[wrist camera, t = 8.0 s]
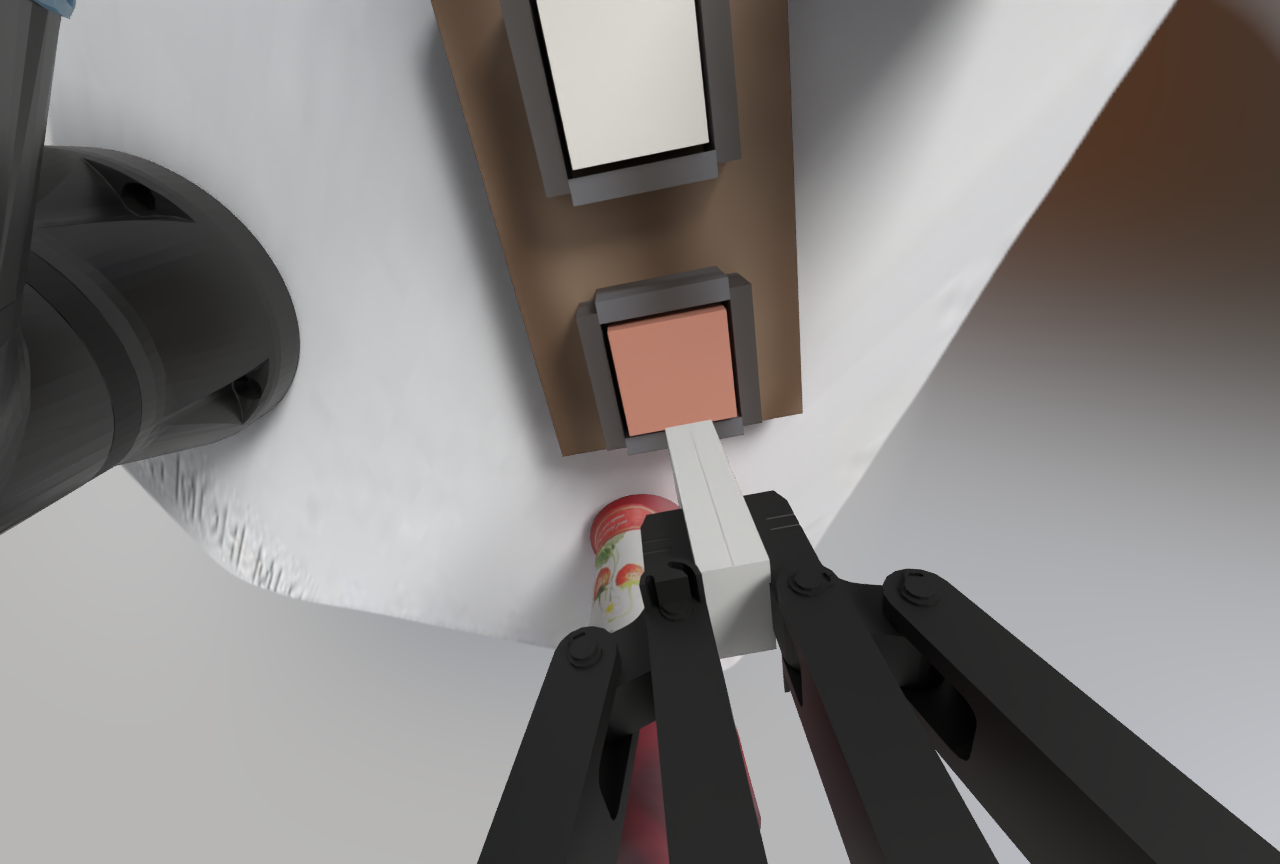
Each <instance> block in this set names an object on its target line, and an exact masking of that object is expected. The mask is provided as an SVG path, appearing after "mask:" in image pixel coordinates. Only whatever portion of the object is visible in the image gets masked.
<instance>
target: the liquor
mask: <svg viewBox="0 0 1280 864" xmlns="http://www.w3.org/2000/svg"><path fill="white" fill-rule="evenodd" d="M675 509H680V508H679V506H677V505H676V504H674V503H673V502H671V501H670V500H667V499H665V498H663V497H659V496H655V495H648V494H637V495H630V496H626V497H623V498H620V499H618V500H616V501H613V502H612V503H610V504H609V505H607V506H606V507H605V508H603V510H602V511H601V512H600V513H599V514H598V515H597V517H596V518H595V520H594V522H593V524H592V527H591V533H590V540H591V546H592V548H593V550H594V552H595V554H596V562H595V575H594V587H593V597H592V607H591V618H590V626H595V627H600V628H604V629H606V630H607V631H608V632H610V633H612V632H615V631H617V630H619V629H621V628H623V627H625V626H626V625H628V624H630V623H631V622H633V621H634V620H635V619H636V618H637V617H638V616H639V615H640V614H641V612H642V611H643V609H644V604H643V600H642V596H641V592H640V588H639V582H640V577H641V575H642V574H643V572H644V562H643V552H642V541H641V531H640V527H641V525H642V523H643V521H644V519H645V517H646V515H648V514H653V513H659V512H664V511H670V510H675ZM728 697H729V696H728ZM729 701H730V700H729ZM730 705H731V704H730ZM731 709H732V708H731ZM732 714H733V712H732ZM733 718H734V715H733ZM734 722H735V719H734ZM735 726H736V723H735ZM736 731H737V727H736ZM737 735H738V731H737ZM738 739H739V743H740V738H739V735H738ZM740 748H741V752H742V756H743V761H744V765H745V769H746V773H747V778H748V782H749V786H750V790H751V795H752V799H753V803H754V807H755V812H756V816H757V820H758V824H759V829H760V828H761V817H760V813H759V810H758V806H757V802H756V798H755V795H754V791H753V788H752V784H751V780H750V776H749V773H748V769H747V766H746V762H745V758H744V754H743V751H742V746H741V743H740ZM617 864H669V856H668V845H667V834H666V824H665V813H664V802H663V792H662V781H661V770H660V760H659V749H658V738H657V728H656V721H654V722H652V723H650V724H648V725H646V726H645V727H643V728H641V729H640V733H639V738H638V744H637V750H636V755H635V761H634V767H633V773H632V778H631V784H630V790H629V795H628V801H627V807H626V813H625V818H624V824H623V830H622V836H621V841H620V847H619V853H618V858H617Z"/></svg>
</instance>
